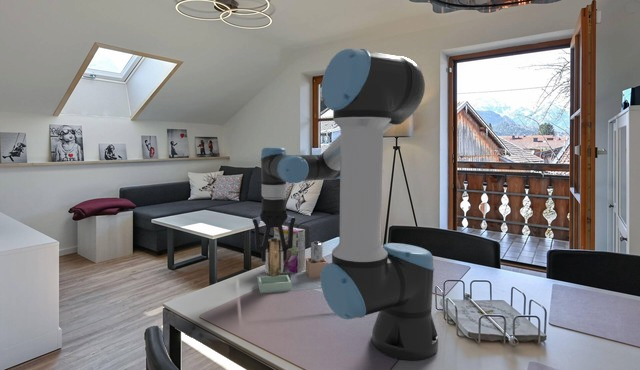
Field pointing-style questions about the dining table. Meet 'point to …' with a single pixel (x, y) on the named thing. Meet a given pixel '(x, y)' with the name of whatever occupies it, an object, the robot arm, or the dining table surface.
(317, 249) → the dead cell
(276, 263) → the copper cell
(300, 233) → the candy bar box
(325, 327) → the dining table surface
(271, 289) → the battery sorting tray
